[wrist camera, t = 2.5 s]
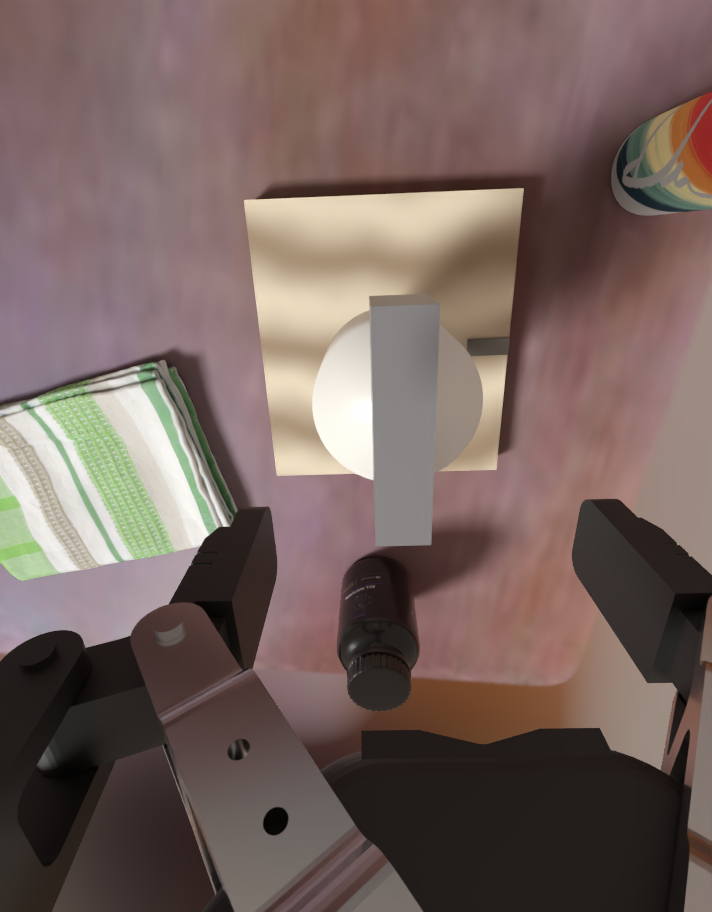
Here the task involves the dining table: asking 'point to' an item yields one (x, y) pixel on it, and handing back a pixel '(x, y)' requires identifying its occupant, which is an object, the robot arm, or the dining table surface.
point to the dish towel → (106, 474)
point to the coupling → (397, 408)
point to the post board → (374, 274)
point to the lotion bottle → (667, 162)
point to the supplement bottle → (377, 633)
